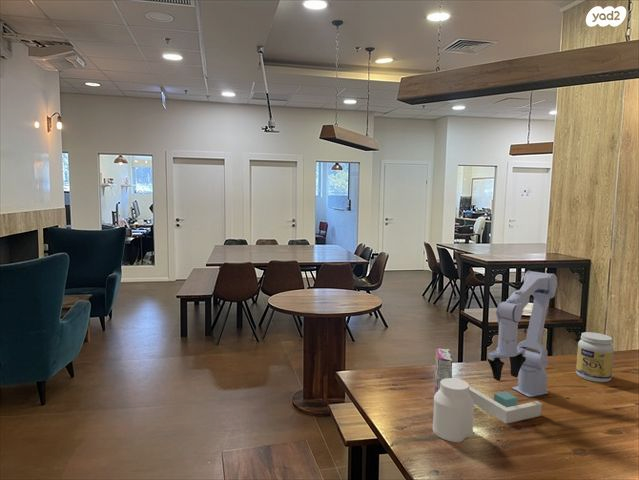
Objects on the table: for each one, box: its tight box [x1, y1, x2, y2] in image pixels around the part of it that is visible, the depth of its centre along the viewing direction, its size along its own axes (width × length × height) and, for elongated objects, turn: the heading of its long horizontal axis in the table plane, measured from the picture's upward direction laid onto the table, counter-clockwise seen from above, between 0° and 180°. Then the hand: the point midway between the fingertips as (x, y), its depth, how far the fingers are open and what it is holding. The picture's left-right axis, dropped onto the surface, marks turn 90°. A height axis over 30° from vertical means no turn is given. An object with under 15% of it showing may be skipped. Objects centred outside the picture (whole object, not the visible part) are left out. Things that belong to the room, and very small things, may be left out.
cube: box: [493, 390, 518, 407], centre depth 144 cm, size 5×5×5 cm
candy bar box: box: [434, 347, 453, 395], centre depth 151 cm, size 11×5×16 cm, turn 168°
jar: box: [432, 377, 475, 443], centre depth 129 cm, size 12×10×15 cm
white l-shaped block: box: [469, 385, 543, 425], centre depth 147 cm, size 15×20×4 cm
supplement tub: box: [575, 331, 615, 383], centre depth 172 cm, size 12×12×17 cm
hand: (505, 377), depth 145 cm, fingers open, 7 cm apart
